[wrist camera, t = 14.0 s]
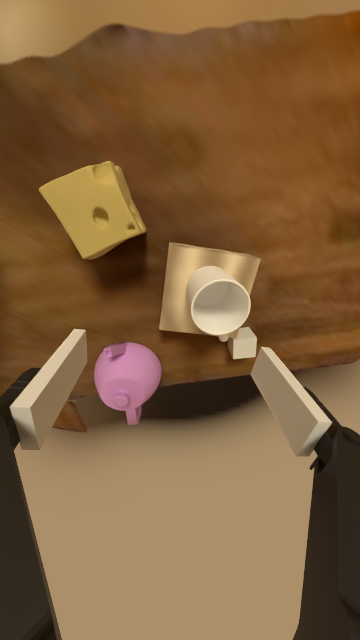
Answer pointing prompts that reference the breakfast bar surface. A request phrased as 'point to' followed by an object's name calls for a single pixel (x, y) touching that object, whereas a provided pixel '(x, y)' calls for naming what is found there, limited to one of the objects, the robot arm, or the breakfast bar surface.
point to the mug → (217, 301)
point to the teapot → (127, 377)
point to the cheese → (94, 208)
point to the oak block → (180, 270)
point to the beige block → (243, 344)
